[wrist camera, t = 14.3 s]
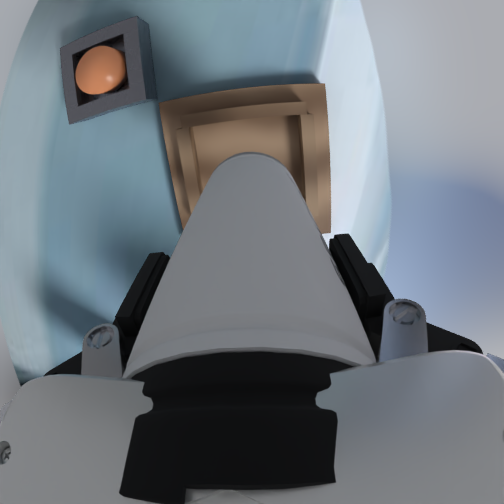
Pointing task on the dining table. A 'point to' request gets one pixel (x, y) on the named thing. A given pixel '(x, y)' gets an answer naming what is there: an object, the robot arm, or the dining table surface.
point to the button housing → (138, 68)
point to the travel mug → (242, 345)
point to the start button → (101, 70)
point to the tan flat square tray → (250, 139)
